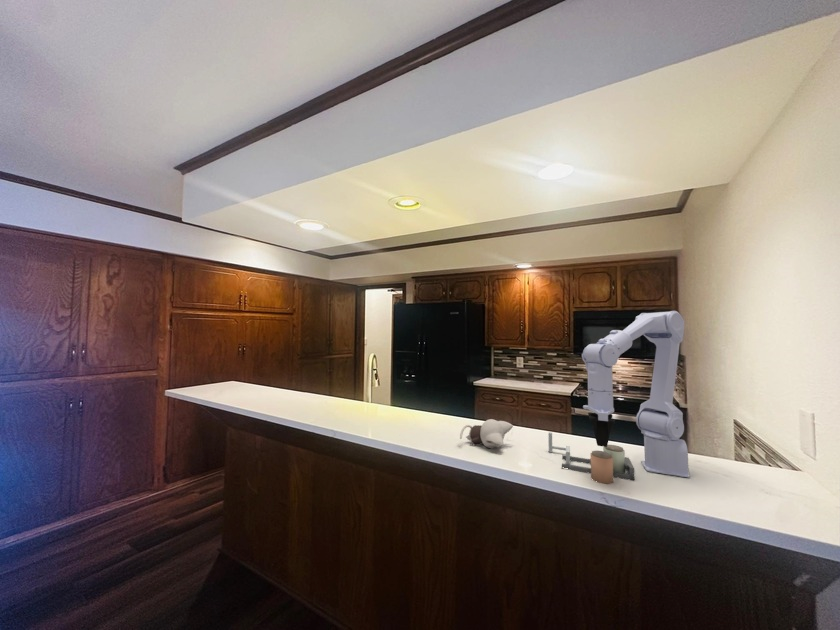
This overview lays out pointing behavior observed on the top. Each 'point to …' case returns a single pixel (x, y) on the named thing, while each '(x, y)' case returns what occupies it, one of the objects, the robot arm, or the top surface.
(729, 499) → the top surface
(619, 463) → the jar
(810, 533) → the top surface
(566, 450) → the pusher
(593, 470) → the jar
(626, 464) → the lane
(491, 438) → the toy
